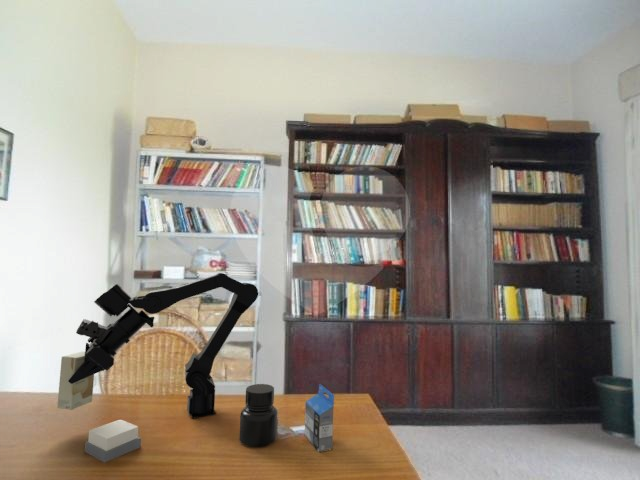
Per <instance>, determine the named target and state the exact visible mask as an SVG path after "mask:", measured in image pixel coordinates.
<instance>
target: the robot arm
mask: <svg viewBox="0 0 640 480" xmlns="http://www.w3.org/2000/svg"><path fill="white" fill-rule="evenodd" d="M220 288H223V290H224V289H225V290H226V291H229V292H231V293H233V294H232V298H231V300H230V302H229V303H230V304H229V307H228V308H227V310H226V312H225V314H224V315H223V317H222V318H221V320H220V322H219V324H218V325H217V327H216V328H215V330H214V331H213V333H212V335H211V336H210V338H209V339H208V340H207V342H206V344H205V346H204V347H203V349H202V350H201V351H200V352H199V353H198V354H195V352H192V354H191V356H190V358H189V360H188V361H187V362H186V363H185V364H184V367H185V369H184V379H185V383H186V385H187V387H189V388H191V389H189V395H187V402H186V411H187V413H188V415H189V416H190V418H191V419H195V418H196V419H197V418H201V417H207V416H212V415H213V416H214V415H216V414H217V411H216V410H215V403H216V402H215V401H216V399H215V398H216V396H215V395H216V384H215V382H214V379H213V377H212V376H211V375H210V374H211V372H212V368H213V365H214V361H215V359H216V357H217V355H218V354H219V352H220V350H221V349H222V347H223V346H224V344H225V342H226V340H227V339H228V337H230V334H231V333H232V331H233V329H234V327H235V326H236V324H237V323H238V321H239V319H240V318H241V316H242V315H243V314H244V313H245V312H246V311H247V310H248V309H249V308H250V307H252V305H253V304H254V303H255V302H256V300H258V297H259V289H258V287H257V286H255V285H254V284H252V283H249V282H240V281H239V280H236V279H234V278H232V277H230V276H228V275H227V274H225V273H222V272H218V273H216V274H214V275H211V276H208V277H204V278H202V279H199V280H195V281H192V282H190V283H187V284H183V285H179V286H177V287H170V288H162V289H156V290H155V289H154V290H151V291H149V292H146V294H145V295H139V296H137V295H136V296H133V297H131V296H130V295H129V294H128V293H127V292H126V291H125V290H124V289H123V287H121V285H120V284H118V283H117V284H114V286H112V287H111V288H110V289H108V290H107V291H105V292H104V293H102V294H101V295H100V296H98V298H96V299H95V300H94V301H93V303H94V304H95V305H97V306H98V307H99V308H100V309H101V310H102V311H104V312H105V313H106V314H107V315H108V316H110V318H111V317H112V316H113V317H119V316H120V315H121V314H122V313H123V312H125V310H127V309H128V308H129V309H128V310H127V311H126V312H125V313H123V315H121V316H120V317H119V318H118V319H117V320H116V321H114V323H109V324H108V325H107V326H105V325H103V324H100V323H99V322H96V321H94V320H88V319H85V318H83V320H82V321H81V323H80V325H78V328H77V329H76V331H75V333H76V334H77V335H79V336H85V337H89V338H88V339H87V342H85V349H84V350H85V351H84V352H85V359H84V362H83V363H82V364H81V365H80V367H79V368H78V369H77V370H76V372H75V373H74V374H73V375H72V376H71V378H70V379H69V380H68V382H69V383H71V384H73V383H75V382H77V381H79V380H82V379H84V378H86V377H88V376H91V375H93V374H94V375H95V374H97V373H100V372H102V371H103V372H104V371H109V370H110V368H112V367H113V366H114V364H115V355H117V351H119V350H120V349H121V348H122V347H123V346H124V345H125V344H127V345H128V343H130V341H131V338H132V337H134V335H136V333H138V332H139V331H140V330H141V329H142V328H143V327H144V326H145V325H148V326H149V327H151V328H154V321H155V316H149V315H148V314H151V315H155V314H158V313H161V312H162V311H164V310H166V309H168V308H170V307H171V306H173V305H175V304H176V303H178V302H181V301H183V300H186V299H189V298H192V297H195V296H198V295H201V294H204V293H207V292H211V291H212V290H215V289H220ZM135 308H136V309H135ZM137 309H140V310H139V311H138V310H137Z"/></svg>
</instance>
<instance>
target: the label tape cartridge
mask: <svg viewBox="0 0 640 480" xmlns="http://www.w3.org/2000/svg"><path fill="white" fill-rule="evenodd" d="M324 393H325V394H326V395H327V396H328V397H327V396H326V395H325V394H324ZM304 403H305V405H304V406H305V407H304V409H305V412H304V436H305V437H307V438H306V439H307V440H308V441H309V442H310V443H311V445H312V446H313V448H314V449H316V451H317V452H318V453H322V452H321V451H324V450H328V451H330V450H329V449H332V450H333V436H334V435H333V434H334V406H335V405H334V404H335V394H334V393H333V392H331V391H330V390H328V389H327V388H326V387H325V386H323V385H322V384H321V383H319V385H318V392H317V393H316V394H315V395H314V396H312V397H311V398H308V399H307V400H306V401H305V402H304ZM324 452H325V451H324Z"/></svg>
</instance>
